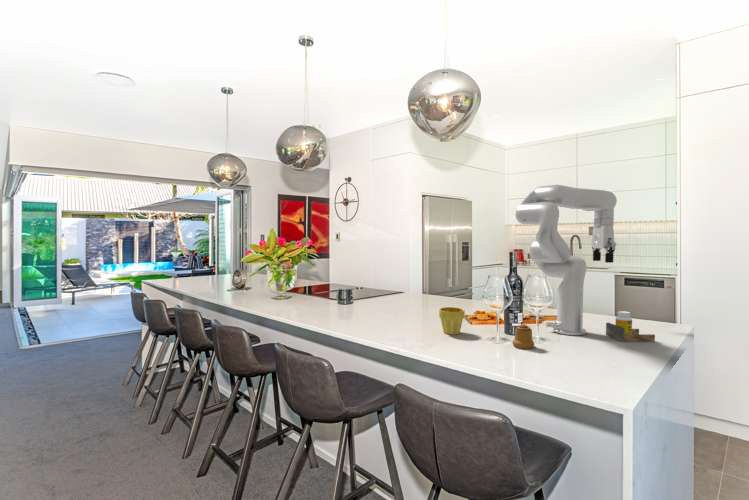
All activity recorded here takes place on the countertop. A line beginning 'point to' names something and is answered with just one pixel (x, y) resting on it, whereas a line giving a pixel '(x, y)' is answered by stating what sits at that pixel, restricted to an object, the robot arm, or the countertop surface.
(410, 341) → the countertop surface
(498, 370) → the countertop surface
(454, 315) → the plant pot
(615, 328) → the guide track
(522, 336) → the ornamental finial
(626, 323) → the supplement bottle
